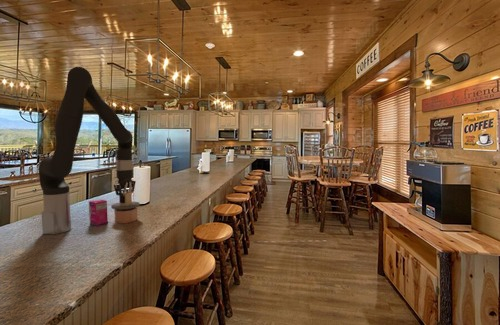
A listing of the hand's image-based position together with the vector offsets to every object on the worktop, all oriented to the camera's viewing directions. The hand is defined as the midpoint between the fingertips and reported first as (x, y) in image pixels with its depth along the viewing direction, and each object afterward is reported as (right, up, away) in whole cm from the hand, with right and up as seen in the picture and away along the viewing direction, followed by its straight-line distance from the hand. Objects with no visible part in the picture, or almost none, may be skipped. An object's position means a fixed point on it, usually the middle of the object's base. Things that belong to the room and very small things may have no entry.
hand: (125, 201), depth 125 cm
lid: (0, -2, 0) cm, 2 cm away
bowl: (0, -10, +1) cm, 10 cm away
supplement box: (-10, -10, -5) cm, 15 cm away
